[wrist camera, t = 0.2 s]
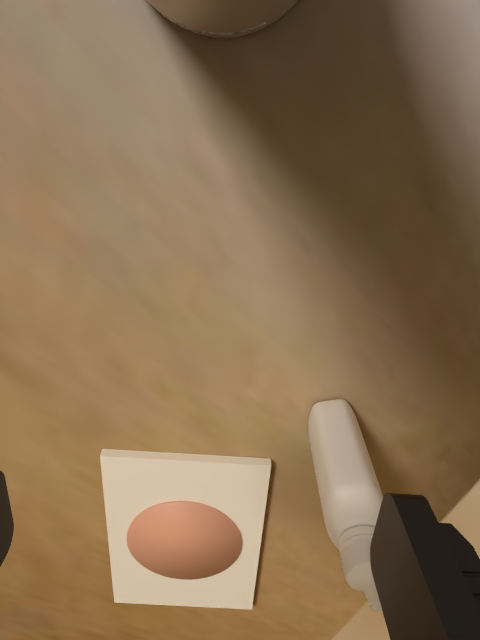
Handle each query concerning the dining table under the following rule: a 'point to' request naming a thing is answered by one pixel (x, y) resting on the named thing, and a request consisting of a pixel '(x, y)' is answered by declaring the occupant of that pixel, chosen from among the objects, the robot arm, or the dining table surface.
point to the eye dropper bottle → (346, 490)
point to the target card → (184, 526)
